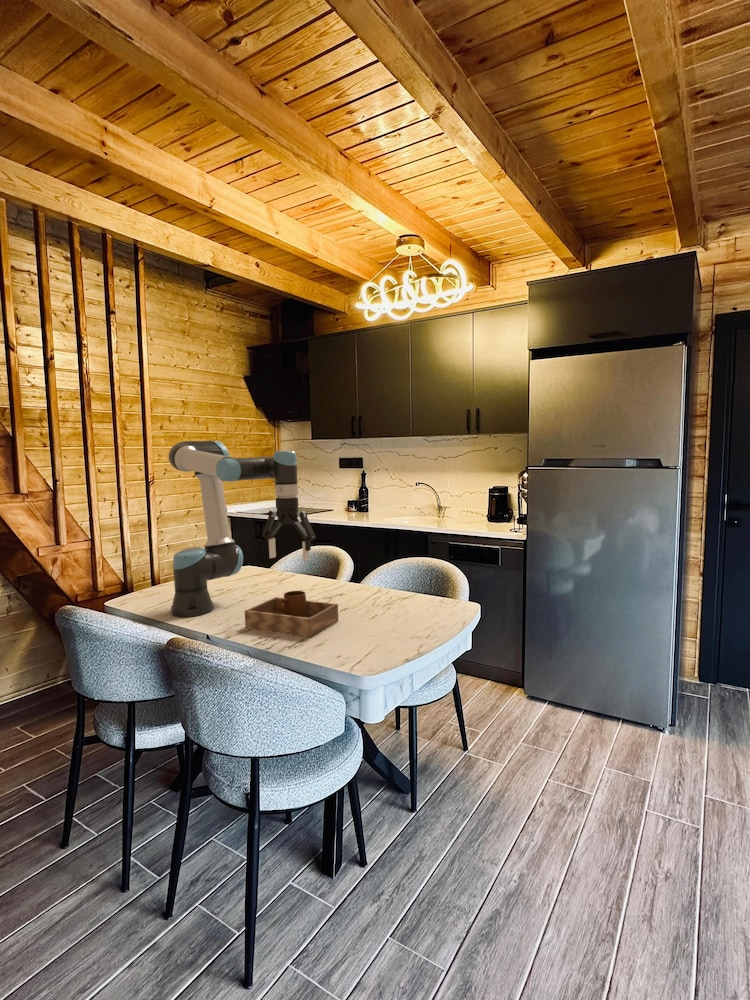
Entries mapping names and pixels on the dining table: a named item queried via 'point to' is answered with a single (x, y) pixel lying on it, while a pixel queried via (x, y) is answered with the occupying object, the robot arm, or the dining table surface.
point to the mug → (293, 604)
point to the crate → (291, 618)
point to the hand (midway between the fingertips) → (289, 559)
